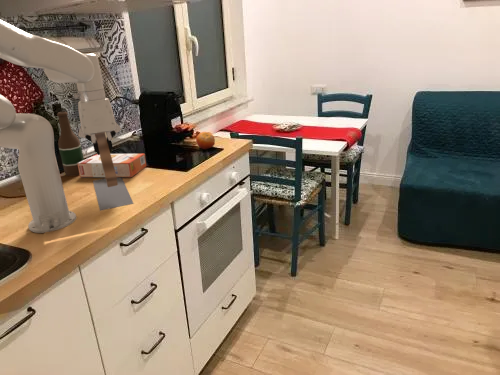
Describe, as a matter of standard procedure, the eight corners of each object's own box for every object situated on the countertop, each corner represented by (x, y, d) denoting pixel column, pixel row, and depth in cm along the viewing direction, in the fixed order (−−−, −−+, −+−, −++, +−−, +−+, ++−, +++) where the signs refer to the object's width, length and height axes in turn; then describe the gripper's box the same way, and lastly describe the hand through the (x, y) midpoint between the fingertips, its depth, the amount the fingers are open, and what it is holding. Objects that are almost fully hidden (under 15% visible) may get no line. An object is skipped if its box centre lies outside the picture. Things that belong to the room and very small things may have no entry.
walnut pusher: (124, 183, 131) (123, 174, 127) (101, 188, 128) (99, 179, 124) (108, 126, 143) (106, 116, 139) (87, 129, 140) (84, 119, 136)
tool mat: (133, 204, 128) (133, 203, 128) (100, 212, 124) (99, 210, 124) (121, 176, 154) (120, 175, 154) (93, 182, 150) (92, 180, 150)
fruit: (205, 140, 189) (209, 127, 184) (215, 152, 186) (219, 138, 180) (190, 144, 184) (194, 130, 179) (200, 156, 181) (203, 142, 175)
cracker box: (129, 161, 148) (76, 162, 152) (131, 177, 150) (79, 178, 154) (145, 152, 161) (95, 153, 165) (147, 167, 163) (98, 167, 167)
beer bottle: (64, 173, 162) (50, 112, 154) (85, 169, 166) (72, 109, 157) (66, 178, 156) (51, 115, 147) (87, 174, 159) (74, 112, 150)
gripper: (64, 101, 121) (78, 160, 128) (121, 93, 127) (131, 151, 134) (63, 97, 128) (77, 154, 135) (118, 90, 133) (128, 145, 140)
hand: (104, 152), depth 134 cm, fingers closed on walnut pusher, 3 cm apart
